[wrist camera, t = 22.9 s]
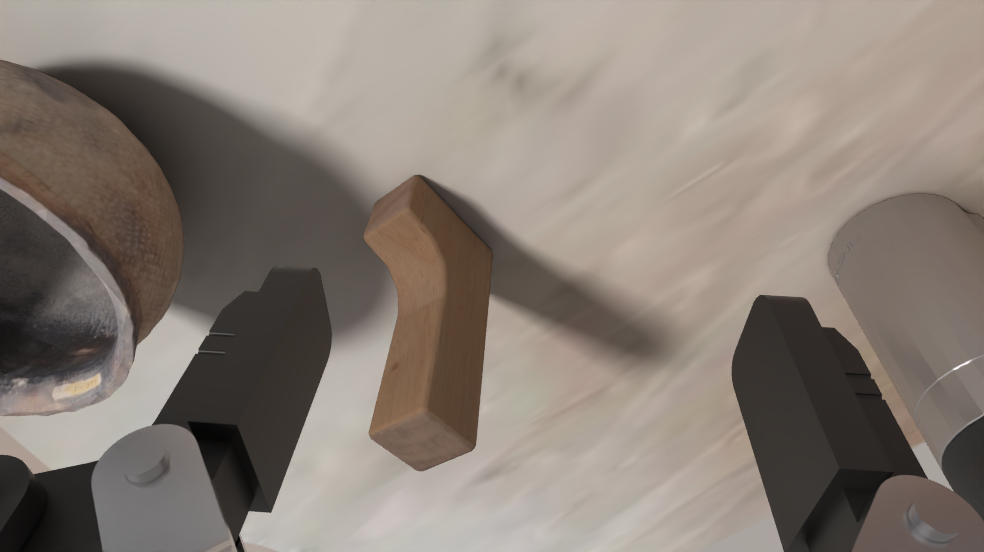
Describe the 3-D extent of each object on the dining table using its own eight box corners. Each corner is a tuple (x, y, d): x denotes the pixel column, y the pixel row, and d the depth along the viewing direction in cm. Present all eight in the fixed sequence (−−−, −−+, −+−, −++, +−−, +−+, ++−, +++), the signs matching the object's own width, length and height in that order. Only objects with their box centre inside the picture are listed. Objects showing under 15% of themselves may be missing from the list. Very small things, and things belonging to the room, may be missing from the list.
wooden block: (372, 202, 46) (302, 394, 32) (417, 170, 44) (362, 361, 30) (451, 277, 50) (419, 475, 36) (495, 252, 48) (478, 451, 34)
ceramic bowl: (-166, 90, 42) (-426, 216, 31) (34, -74, 35) (-211, 12, 23) (99, 305, 54) (-17, 452, 43) (289, 218, 47) (210, 367, 36)
